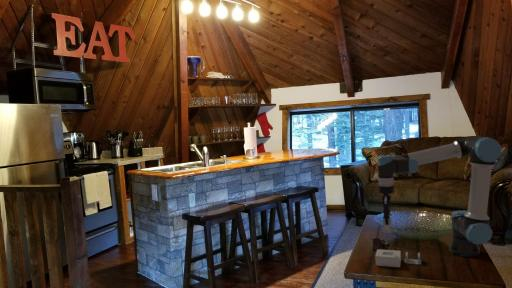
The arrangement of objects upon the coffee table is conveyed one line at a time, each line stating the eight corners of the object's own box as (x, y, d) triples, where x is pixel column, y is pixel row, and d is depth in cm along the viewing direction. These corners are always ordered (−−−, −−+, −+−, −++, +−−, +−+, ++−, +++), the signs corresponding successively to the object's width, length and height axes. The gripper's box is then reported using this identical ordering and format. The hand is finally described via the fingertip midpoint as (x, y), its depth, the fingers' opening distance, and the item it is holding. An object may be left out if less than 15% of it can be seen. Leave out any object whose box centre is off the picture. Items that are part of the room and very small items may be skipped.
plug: (391, 231, 209) (391, 214, 209) (391, 233, 207) (390, 216, 206) (383, 230, 211) (383, 214, 210) (383, 232, 208) (382, 215, 207)
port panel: (401, 261, 212) (400, 250, 212) (400, 269, 203) (399, 256, 203) (377, 260, 217) (377, 248, 217) (375, 267, 208) (375, 255, 207)
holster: (421, 261, 210) (420, 252, 210) (421, 266, 205) (420, 256, 205) (405, 260, 214) (404, 251, 213) (404, 264, 208) (404, 255, 208)
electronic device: (387, 254, 224) (387, 241, 224) (372, 251, 231) (371, 238, 231) (391, 252, 227) (390, 239, 227) (376, 248, 234) (375, 236, 234)
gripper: (380, 182, 216) (381, 224, 218) (376, 188, 201) (378, 233, 203) (394, 182, 213) (395, 225, 215) (392, 188, 198) (394, 234, 200)
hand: (387, 229), depth 209 cm, fingers closed on plug, 3 cm apart
